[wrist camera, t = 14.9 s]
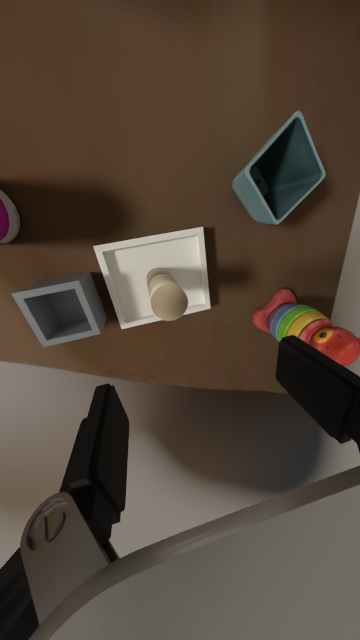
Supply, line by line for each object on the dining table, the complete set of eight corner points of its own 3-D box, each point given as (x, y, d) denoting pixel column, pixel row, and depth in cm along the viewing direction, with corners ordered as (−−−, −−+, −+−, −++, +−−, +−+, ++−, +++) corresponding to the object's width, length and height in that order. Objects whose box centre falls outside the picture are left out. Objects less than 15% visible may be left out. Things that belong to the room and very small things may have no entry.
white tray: (96, 245, 31) (93, 246, 28) (198, 227, 33) (203, 226, 30) (122, 323, 37) (121, 329, 35) (206, 304, 39) (210, 308, 37)
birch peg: (144, 270, 33) (147, 289, 20) (167, 265, 33) (185, 281, 21) (149, 293, 35) (155, 324, 22) (172, 288, 35) (190, 316, 23)
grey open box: (36, 282, 31) (11, 293, 25) (90, 272, 32) (78, 280, 26) (59, 328, 35) (43, 347, 29) (107, 317, 36) (100, 333, 30)
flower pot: (216, 187, 31) (244, 170, 23) (256, 142, 29) (300, 106, 21) (245, 229, 34) (277, 226, 26) (281, 190, 33) (327, 175, 25)
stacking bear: (283, 283, 41) (375, 312, 25) (302, 311, 45) (390, 350, 29) (247, 317, 43) (311, 364, 27) (268, 340, 47) (334, 393, 31)
